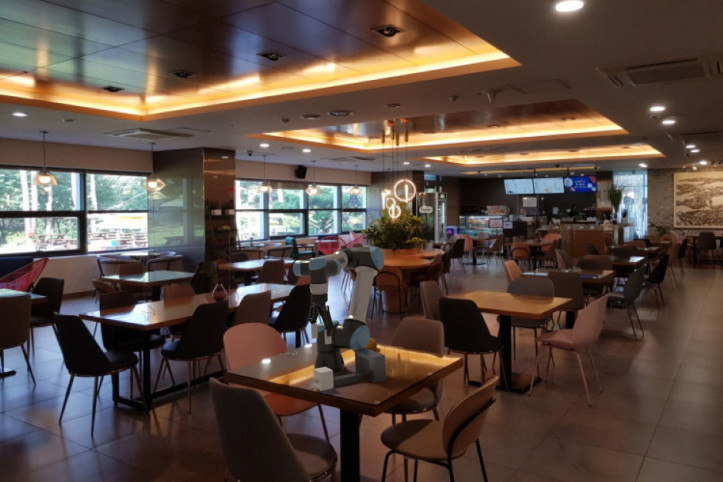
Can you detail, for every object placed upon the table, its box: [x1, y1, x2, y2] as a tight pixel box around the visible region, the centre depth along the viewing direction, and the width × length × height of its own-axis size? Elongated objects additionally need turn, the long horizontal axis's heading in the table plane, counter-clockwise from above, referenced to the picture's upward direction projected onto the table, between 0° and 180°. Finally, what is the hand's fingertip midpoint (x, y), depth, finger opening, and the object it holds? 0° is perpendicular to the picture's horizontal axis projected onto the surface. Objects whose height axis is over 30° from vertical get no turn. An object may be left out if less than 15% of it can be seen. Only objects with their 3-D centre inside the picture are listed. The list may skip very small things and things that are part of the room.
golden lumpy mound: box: [353, 336, 378, 352], centre depth 303 cm, size 14×16×8 cm
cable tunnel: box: [354, 348, 387, 384], centre depth 251 cm, size 17×6×12 cm, turn 31°
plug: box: [311, 367, 364, 392], centre depth 242 cm, size 7×24×8 cm, turn 121°
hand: (321, 341), depth 238 cm, fingers open, 13 cm apart
